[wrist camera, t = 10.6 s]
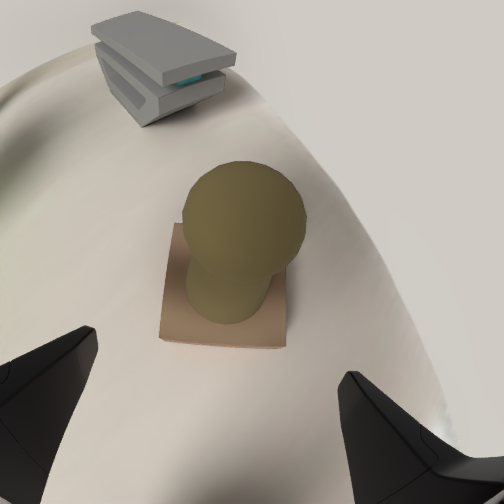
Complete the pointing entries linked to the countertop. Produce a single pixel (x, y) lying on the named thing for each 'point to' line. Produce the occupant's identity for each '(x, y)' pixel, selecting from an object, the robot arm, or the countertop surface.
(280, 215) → the olive tall rounded piece
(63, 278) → the countertop surface
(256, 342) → the tan flat block
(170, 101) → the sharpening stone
